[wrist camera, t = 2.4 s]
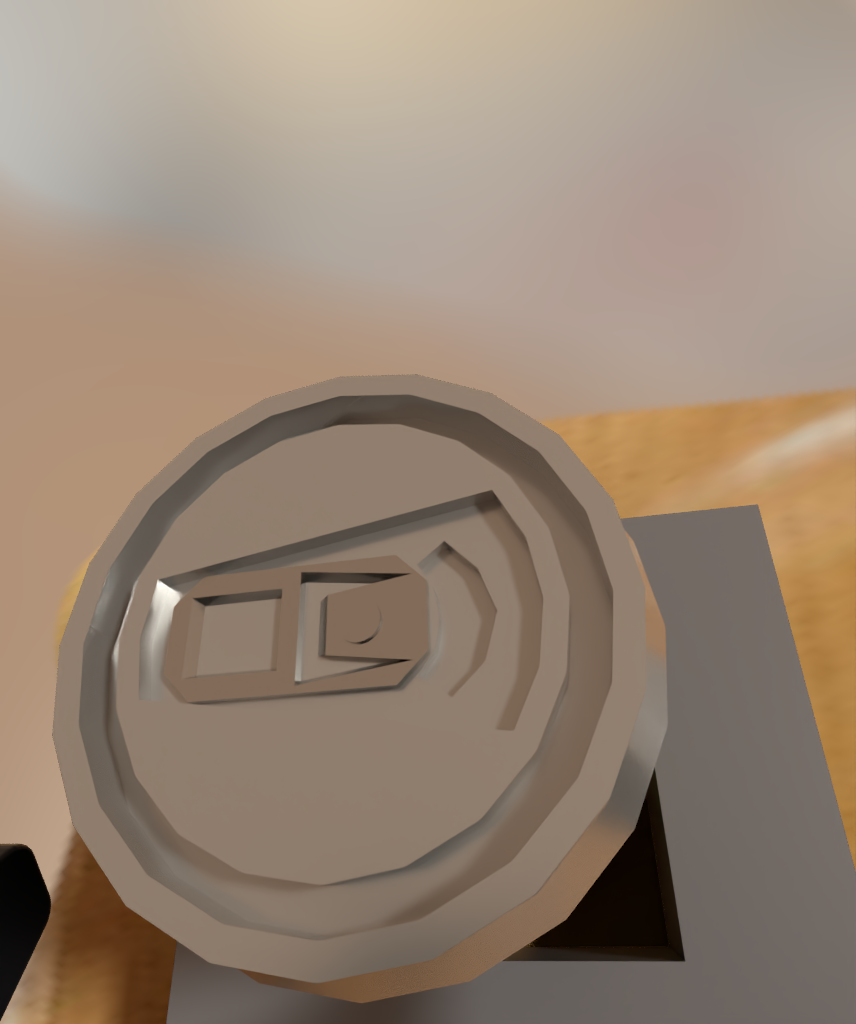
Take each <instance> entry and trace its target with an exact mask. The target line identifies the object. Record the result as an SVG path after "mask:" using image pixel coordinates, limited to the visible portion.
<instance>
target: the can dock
mask: <svg viewBox="0 0 856 1024" xmlns="http://www.w3.org/2000/svg"><path fill="white" fill-rule="evenodd" d="M620 520H621V523H622V525H623V528H624V530H625V531H626V532H627V534H628V535H629V536H630V537H631V538H632V540H633V541H634V543H635V546H636V548H637V551H638V554H639V556H640V559H641V562H642V564H643V567H644V570H645V572H646V575H647V578H648V581H649V583H650V586H651V589H652V591H653V594H654V597H655V599H656V602H657V605H658V607H659V610H660V613H661V616H662V618H663V621H664V624H665V626H666V669H667V712H668V727H667V730H666V733H665V736H664V739H663V742H662V746H661V749H660V752H659V755H658V758H657V761H656V764H655V767H654V771H653V774H652V777H651V780H650V783H649V786H648V789H647V792H646V797H647V804H648V810H649V817H650V824H651V831H652V837H653V844H654V851H655V857H656V864H657V871H658V877H659V884H660V891H661V897H662V904H663V911H664V918H665V924H666V931H667V938H668V944H669V947H523V948H521V949H520V950H518V951H517V952H515V953H513V954H512V955H510V956H509V957H507V958H506V959H504V960H503V961H501V962H500V963H498V964H496V965H495V966H493V967H492V968H490V969H489V970H487V971H486V972H484V973H482V974H481V975H479V976H478V977H476V978H475V979H473V980H472V981H470V982H465V983H460V984H455V985H450V986H445V987H440V988H435V989H431V990H426V991H421V992H416V993H411V994H406V995H401V996H396V997H391V998H386V999H381V1000H376V1001H371V1002H366V1003H357V1002H352V1001H347V1000H342V999H336V998H331V997H326V996H321V995H316V994H311V993H306V992H301V991H296V990H291V989H286V988H280V987H275V986H270V985H265V984H260V983H258V982H257V981H255V980H254V979H252V978H251V977H249V976H248V975H246V974H245V973H243V972H242V971H240V970H239V969H237V968H233V967H228V966H223V965H218V964H212V963H209V962H207V961H206V960H204V959H203V958H201V957H200V956H199V955H197V954H196V953H194V952H193V951H191V950H190V949H188V948H187V947H185V946H184V945H182V944H181V943H179V942H178V941H177V944H176V952H175V959H174V967H173V975H172V982H171V990H170V998H169V1006H168V1013H167V1021H166V1024H856V871H855V868H854V864H853V860H852V856H851V853H850V849H849V845H848V841H847V838H846V834H845V830H844V826H843V823H842V819H841V815H840V811H839V808H838V804H837V800H836V796H835V793H834V789H833V785H832V781H831V778H830V774H829V770H828V766H827V762H826V759H825V755H824V751H823V747H822V744H821V740H820V736H819V732H818V729H817V725H816V721H815V717H814V714H813V710H812V706H811V702H810V699H809V695H808V691H807V687H806V684H805V680H804V676H803V672H802V669H801V665H800V661H799V657H798V654H797V650H796V646H795V642H794V639H793V635H792V631H791V627H790V624H789V620H788V616H787V612H786V609H785V605H784V601H783V597H782V594H781V590H780V586H779V582H778V578H777V575H776V571H775V567H774V563H773V560H772V556H771V552H770V548H769V545H768V541H767V537H766V533H765V530H764V526H763V522H762V518H761V515H760V511H759V507H758V505H748V506H739V507H729V508H720V509H710V510H701V511H691V512H682V513H672V514H663V515H653V516H644V517H634V518H625V519H620Z"/></svg>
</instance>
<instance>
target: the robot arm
mask: <svg viewBox="0 0 856 1024" xmlns="http://www.w3.org/2000/svg"><path fill="white" fill-rule="evenodd" d="M50 909H51V899H50V895H49V892H48V890H47V887H46V885H45V882H44V879H43V877H42V874H41V872H40V869H39V867H38V864H37V861H36V859H35V856H34V854H33V852H32V850H31V849H30V848H29V847H28V846H26V845H23V844H0V1021H1V1018H2V1016H3V1014H4V1012H5V1010H6V1008H7V1006H8V1004H9V1002H10V1000H11V998H12V995H13V993H14V991H15V989H16V987H17V985H18V983H19V981H20V979H21V977H22V974H23V972H24V970H25V968H26V966H27V964H28V962H29V960H30V958H31V956H32V953H33V951H34V949H35V947H36V945H37V943H38V941H39V939H40V937H41V935H42V933H43V930H44V928H45V926H46V924H47V922H48V919H49V915H50Z"/></svg>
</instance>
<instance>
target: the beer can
mask: <svg viewBox="0 0 856 1024" xmlns="http://www.w3.org/2000/svg"><path fill="white" fill-rule="evenodd" d="M667 727H668V712H667V669H666V626H665V624H664V621H663V618H662V616H661V613H660V610H659V607H658V605H657V602H656V599H655V597H654V594H653V591H652V589H651V586H650V583H649V581H648V578H647V575H646V572H645V570H644V567H643V564H642V562H641V559H640V556H639V554H638V551H637V548H636V546H635V543H634V541H633V540H632V538H631V537H630V536H629V535H628V534H627V532H626V531H625V530H624V528H623V525H622V523H621V520H620V517H619V514H618V512H617V509H616V506H615V503H614V501H613V499H612V498H611V497H610V495H609V494H608V493H607V492H606V491H605V489H604V488H603V487H602V486H601V485H600V483H599V482H598V481H597V480H596V479H595V477H594V476H593V475H592V474H591V473H590V471H589V470H588V469H587V468H586V467H585V465H584V464H583V463H582V462H581V461H580V459H579V458H578V457H577V456H576V454H575V453H574V452H573V451H572V450H571V448H570V447H569V446H568V445H567V444H566V442H565V441H564V440H563V439H562V438H561V436H560V435H559V434H557V433H555V432H554V431H552V430H550V429H549V428H547V427H546V426H544V425H542V424H541V423H539V422H537V421H536V420H534V419H533V418H531V417H529V416H528V415H526V414H524V413H523V412H521V411H520V410H518V409H516V408H515V407H513V406H511V405H510V404H508V403H506V402H505V401H503V400H502V399H500V398H498V397H497V396H495V395H493V394H492V393H488V392H484V391H480V390H476V389H472V388H469V387H465V386H460V385H457V384H452V383H449V382H445V381H441V380H436V379H433V378H429V377H425V376H421V375H416V374H415V375H382V376H350V377H338V378H334V379H331V380H327V381H324V382H321V383H317V384H313V385H310V386H307V387H303V388H300V389H296V390H293V391H289V392H286V393H283V394H279V395H276V396H272V397H269V398H266V399H264V400H262V401H260V402H259V403H257V404H255V405H253V406H251V407H250V408H248V409H246V410H245V411H243V412H241V413H239V414H237V415H236V416H234V417H232V418H230V419H229V420H227V421H225V422H224V423H222V424H220V425H218V426H217V427H215V428H213V429H211V430H209V431H208V432H206V433H204V434H202V435H201V436H199V437H197V438H196V439H195V440H194V441H193V442H192V443H191V444H190V445H188V446H187V447H186V448H185V449H184V450H183V451H182V452H181V453H180V454H179V455H178V456H176V457H175V458H174V459H173V460H172V461H171V462H170V463H169V464H168V465H167V466H166V467H165V468H164V469H163V470H161V471H160V472H159V473H158V474H157V475H156V476H155V477H154V478H153V479H152V480H151V481H150V482H148V483H147V484H146V485H145V486H144V487H143V488H142V489H141V490H140V491H139V492H138V493H137V494H136V495H135V497H134V498H133V500H132V501H131V503H130V504H129V506H128V507H127V509H126V510H125V512H124V513H123V514H122V516H121V517H120V519H119V520H118V522H117V524H116V525H115V526H114V528H113V529H112V531H111V532H110V534H109V535H108V537H107V538H106V540H105V541H104V543H103V544H102V546H101V547H100V549H99V550H98V552H97V553H96V555H95V556H94V558H93V559H92V560H91V562H90V563H89V566H88V569H87V572H86V574H85V577H84V580H83V583H82V585H81V588H80V591H79V594H78V596H77V599H76V602H75V605H74V607H73V610H72V613H71V616H70V618H69V621H68V624H67V627H66V629H65V632H64V635H63V638H62V640H61V643H60V647H59V659H58V671H57V684H56V696H55V710H54V722H53V734H52V736H53V740H54V744H55V749H56V753H57V757H58V762H59V766H60V771H61V775H62V779H63V783H64V788H65V792H66V797H67V801H68V805H69V809H70V814H71V818H72V823H73V826H74V828H75V829H76V831H77V832H78V834H79V835H80V837H81V838H82V840H83V841H84V843H85V844H86V846H87V847H88V849H89V850H90V852H91V854H92V855H93V857H94V858H95V860H96V861H97V863H98V864H99V866H100V867H101V869H102V870H103V872H104V873H105V875H106V876H107V878H108V880H109V881H110V883H111V884H112V886H113V887H114V889H115V890H116V892H117V893H118V895H119V896H120V898H121V899H122V901H123V902H124V904H125V906H127V907H128V908H130V909H131V910H133V911H134V912H135V913H137V914H138V915H140V916H141V917H143V918H144V919H146V920H147V921H149V922H150V923H152V924H153V925H155V926H156V927H157V928H159V929H160V930H162V931H163V932H165V933H166V934H168V935H169V936H171V937H172V938H174V939H175V940H177V941H178V942H179V943H181V944H182V945H184V946H185V947H187V948H188V949H190V950H191V951H193V952H194V953H196V954H197V955H199V956H200V957H201V958H203V959H204V960H206V961H207V962H209V963H212V964H218V965H223V966H228V967H233V968H237V969H239V970H240V971H242V972H243V973H245V974H246V975H248V976H249V977H251V978H252V979H254V980H255V981H257V982H258V983H260V984H265V985H270V986H275V987H280V988H286V989H291V990H296V991H301V992H306V993H311V994H316V995H321V996H326V997H331V998H336V999H342V1000H347V1001H352V1002H357V1003H366V1002H371V1001H376V1000H381V999H386V998H391V997H396V996H401V995H406V994H411V993H416V992H421V991H426V990H431V989H435V988H440V987H445V986H450V985H455V984H460V983H465V982H470V981H472V980H473V979H475V978H476V977H478V976H479V975H481V974H482V973H484V972H486V971H487V970H489V969H490V968H492V967H493V966H495V965H496V964H498V963H500V962H501V961H503V960H504V959H506V958H507V957H509V956H510V955H512V954H513V953H515V952H517V951H518V950H520V949H521V948H523V947H524V946H526V945H527V944H529V943H531V942H532V941H534V940H535V939H537V938H538V937H540V936H541V935H543V934H545V933H546V932H548V931H549V930H551V929H552V928H554V927H555V926H557V925H559V924H560V923H562V922H563V921H565V920H566V919H567V918H568V917H569V915H570V914H571V913H572V911H573V910H574V909H575V907H576V906H577V905H578V903H579V902H580V901H581V900H582V898H583V897H584V896H585V894H586V893H587V892H588V890H589V889H590V888H591V886H592V885H593V884H594V882H595V881H596V880H597V878H598V877H599V876H600V874H601V873H602V872H603V870H604V869H605V868H606V866H607V865H608V864H609V863H610V861H611V860H612V859H613V857H614V856H615V855H616V853H617V852H618V851H619V849H620V848H621V847H622V845H623V844H624V843H625V841H626V840H627V839H628V837H629V836H630V835H631V833H632V832H633V831H634V829H635V827H636V824H637V821H638V817H639V814H640V811H641V808H642V805H643V802H644V799H645V796H646V792H647V789H648V786H649V783H650V780H651V777H652V774H653V771H654V767H655V764H656V761H657V758H658V755H659V752H660V749H661V746H662V742H663V739H664V736H665V733H666V730H667Z"/></svg>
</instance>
